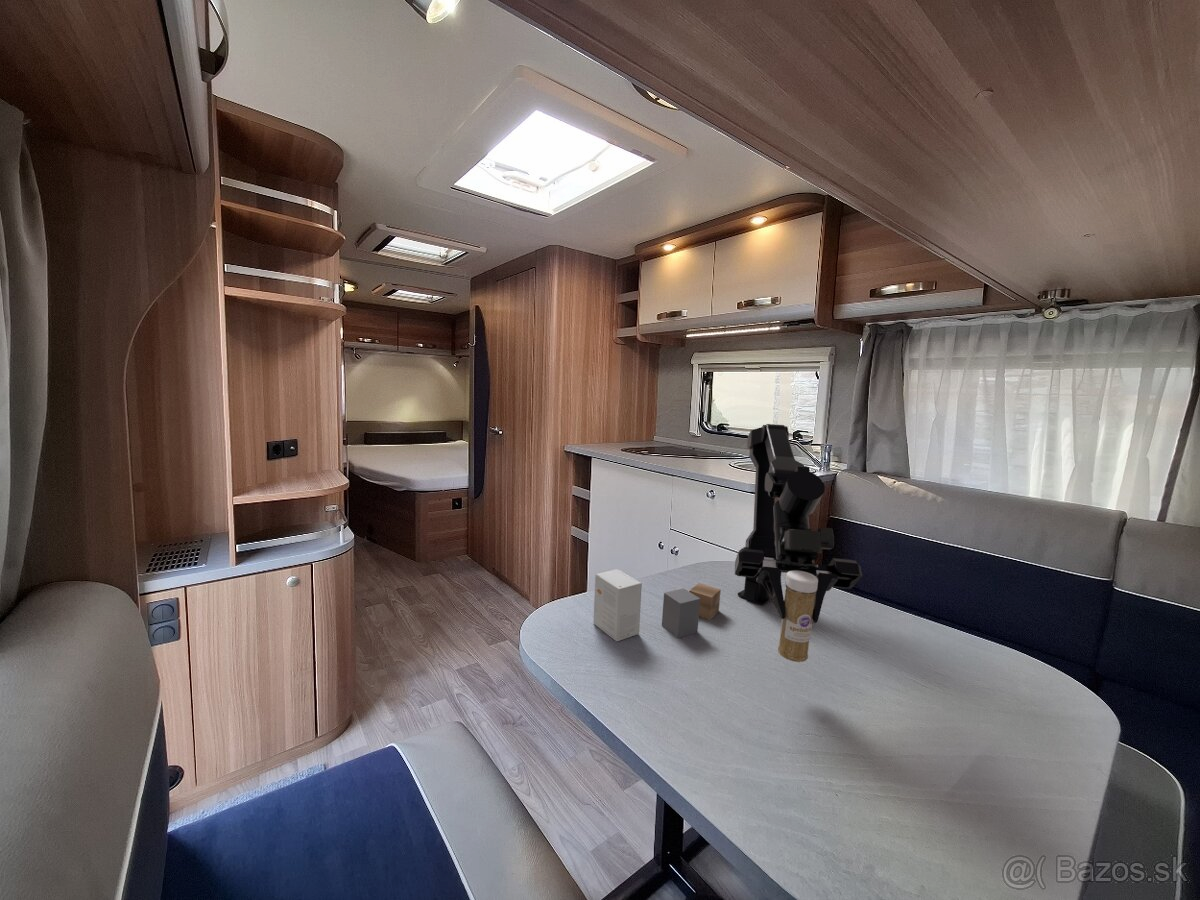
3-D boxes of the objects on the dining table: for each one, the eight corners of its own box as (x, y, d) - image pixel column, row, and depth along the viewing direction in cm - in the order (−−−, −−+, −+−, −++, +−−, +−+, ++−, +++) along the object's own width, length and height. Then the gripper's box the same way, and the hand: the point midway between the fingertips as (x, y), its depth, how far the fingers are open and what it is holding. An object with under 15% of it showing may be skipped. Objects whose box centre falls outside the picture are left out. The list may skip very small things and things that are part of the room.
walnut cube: (697, 604, 104) (698, 582, 104) (718, 611, 102) (720, 589, 101) (687, 612, 100) (689, 590, 100) (709, 620, 97) (711, 597, 97)
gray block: (681, 620, 97) (683, 588, 96) (697, 632, 92) (700, 598, 91) (661, 625, 94) (664, 592, 93) (677, 637, 90) (680, 603, 89)
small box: (639, 635, 90) (643, 583, 89) (616, 642, 87) (619, 589, 86) (615, 616, 97) (617, 568, 95) (592, 623, 94) (595, 573, 92)
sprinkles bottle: (792, 665, 72) (802, 582, 70) (771, 649, 76) (780, 570, 74) (814, 660, 74) (825, 579, 72) (792, 644, 78) (802, 567, 76)
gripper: (743, 501, 77) (744, 594, 68) (866, 512, 74) (885, 611, 65) (734, 532, 86) (734, 618, 77) (843, 543, 83) (857, 635, 73)
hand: (799, 620), depth 73 cm, fingers closed on sprinkles bottle, 4 cm apart
